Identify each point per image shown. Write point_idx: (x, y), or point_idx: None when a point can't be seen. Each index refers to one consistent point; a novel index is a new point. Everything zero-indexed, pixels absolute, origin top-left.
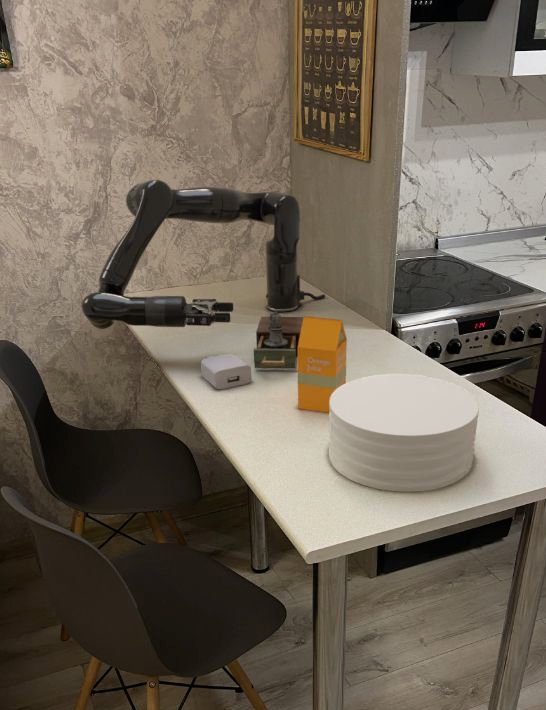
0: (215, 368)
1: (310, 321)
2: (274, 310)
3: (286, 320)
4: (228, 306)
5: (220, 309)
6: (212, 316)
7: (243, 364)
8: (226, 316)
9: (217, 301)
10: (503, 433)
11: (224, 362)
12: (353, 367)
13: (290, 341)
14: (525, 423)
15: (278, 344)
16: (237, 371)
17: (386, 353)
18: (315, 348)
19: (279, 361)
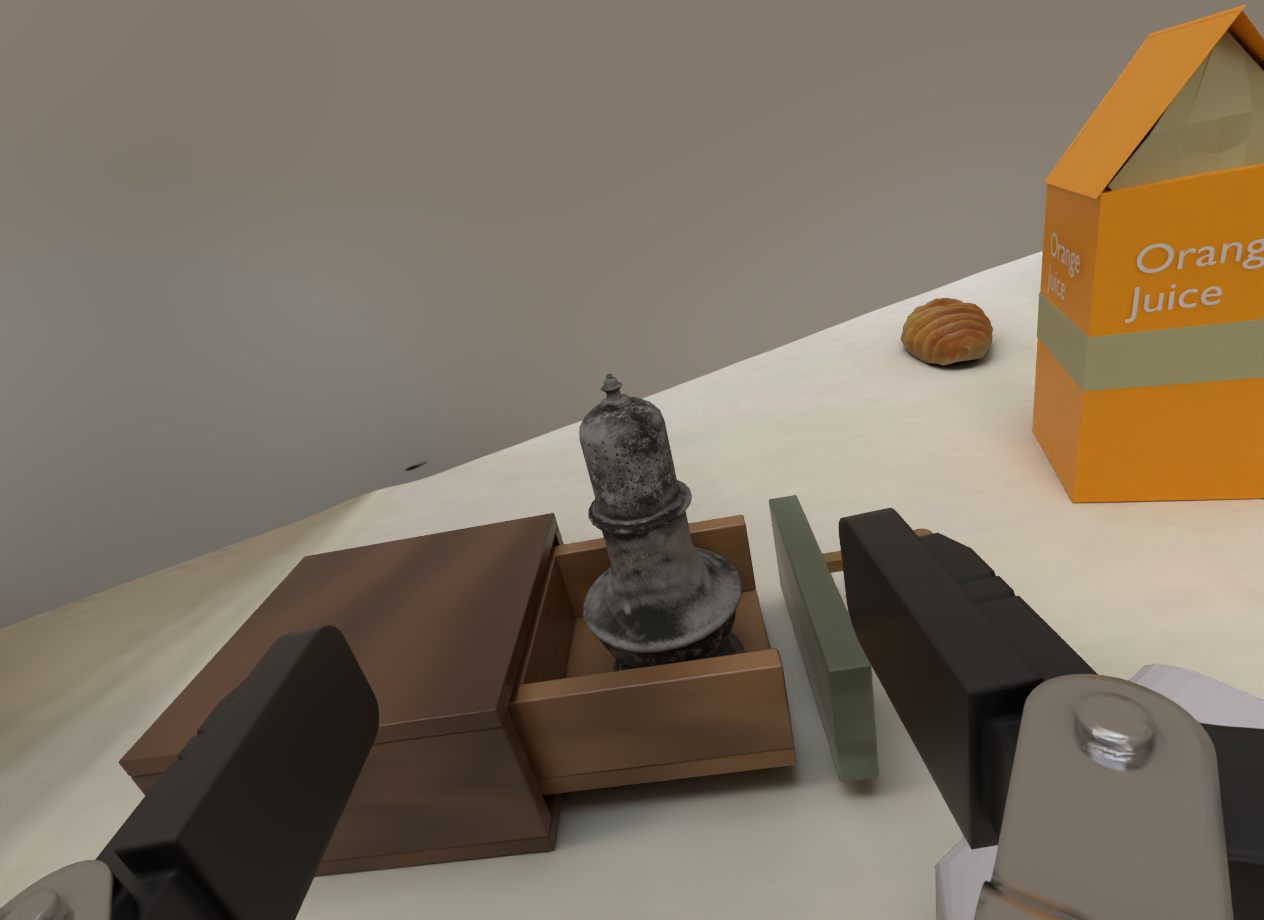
0: None
1: (1232, 35)
2: (614, 383)
3: (319, 603)
4: (319, 709)
5: (270, 890)
6: (1202, 725)
7: (1201, 693)
8: (951, 548)
9: (53, 877)
10: (1010, 288)
11: None
12: (709, 475)
13: (562, 589)
14: (941, 289)
15: (717, 566)
16: None
17: (581, 450)
18: None
19: None
